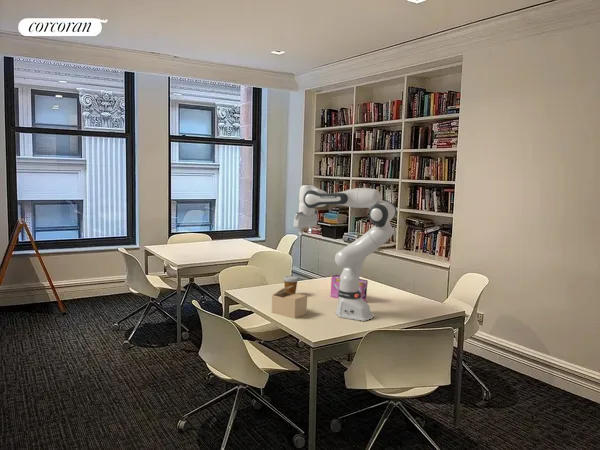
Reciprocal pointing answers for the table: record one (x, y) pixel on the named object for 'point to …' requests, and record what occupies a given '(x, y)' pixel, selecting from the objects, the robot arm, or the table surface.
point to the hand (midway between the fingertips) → (305, 234)
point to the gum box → (336, 284)
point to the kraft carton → (289, 304)
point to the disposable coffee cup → (290, 283)
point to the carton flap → (282, 290)
